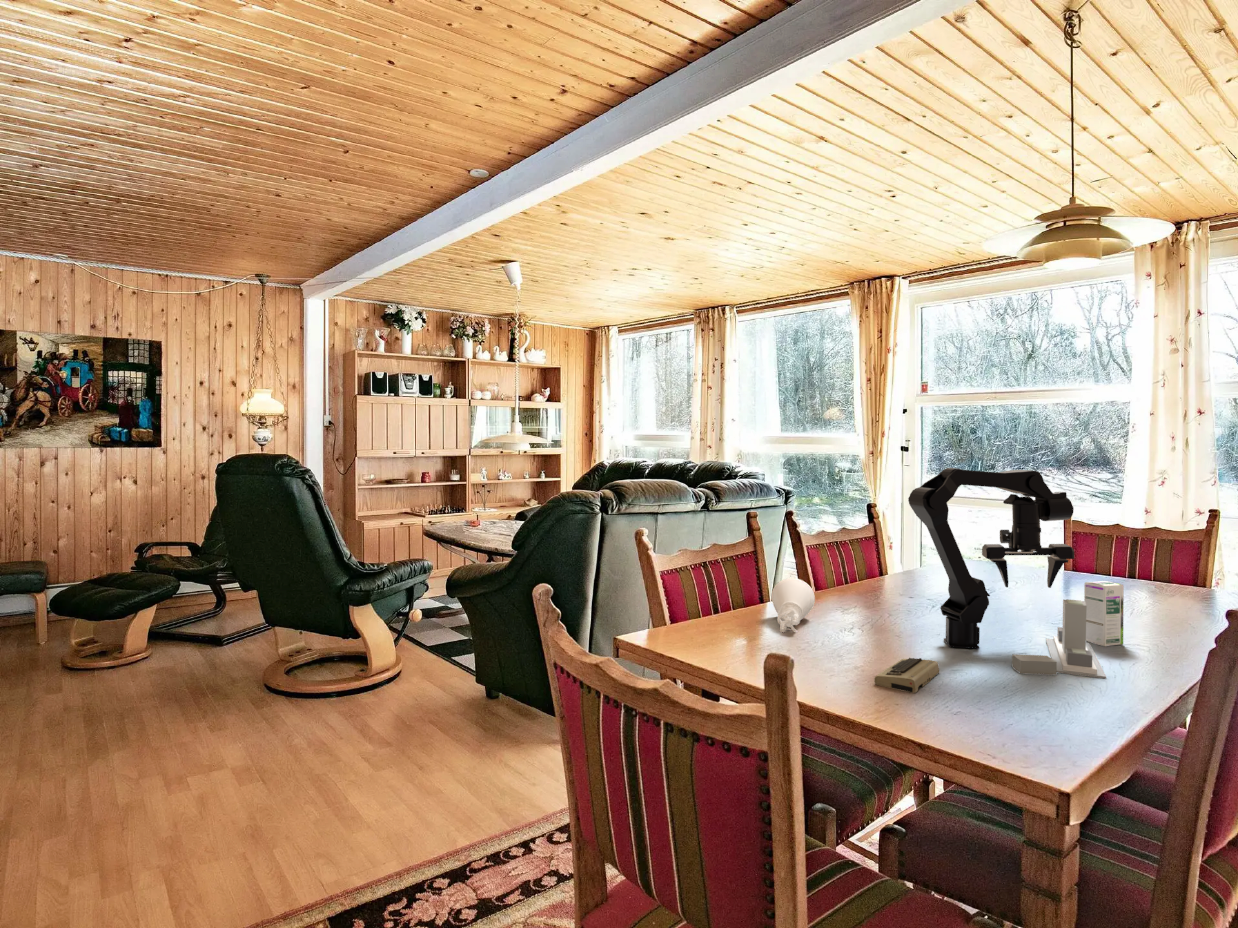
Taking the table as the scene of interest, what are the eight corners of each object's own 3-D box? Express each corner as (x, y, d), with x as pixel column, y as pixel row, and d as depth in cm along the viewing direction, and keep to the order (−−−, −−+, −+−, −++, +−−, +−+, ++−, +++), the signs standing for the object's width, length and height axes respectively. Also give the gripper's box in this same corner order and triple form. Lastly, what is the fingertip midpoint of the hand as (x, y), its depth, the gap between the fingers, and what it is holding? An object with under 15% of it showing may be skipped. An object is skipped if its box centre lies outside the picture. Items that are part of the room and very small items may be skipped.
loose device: (1020, 674, 154) (1020, 660, 154) (1011, 668, 158) (1012, 654, 158) (1056, 676, 153) (1056, 661, 153) (1046, 669, 157) (1047, 655, 157)
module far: (1058, 641, 173) (1059, 629, 173) (1057, 637, 177) (1057, 626, 176) (1080, 643, 171) (1081, 632, 171) (1079, 639, 175) (1079, 628, 175)
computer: (900, 667, 159) (900, 652, 159) (939, 675, 154) (940, 659, 154) (873, 686, 147) (873, 670, 147) (915, 695, 142) (915, 678, 141)
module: (1064, 653, 163) (1065, 602, 163) (1062, 647, 168) (1063, 598, 168) (1085, 655, 162) (1086, 604, 161) (1082, 649, 166) (1083, 600, 166)
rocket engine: (790, 597, 183) (795, 569, 200) (755, 622, 187) (762, 593, 204) (822, 632, 183) (824, 601, 200) (786, 656, 187) (790, 624, 204)
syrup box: (1104, 646, 174) (1106, 585, 173) (1082, 640, 179) (1084, 580, 179) (1123, 645, 175) (1125, 584, 175) (1101, 638, 181) (1102, 579, 180)
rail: (1055, 672, 154) (1055, 665, 154) (1045, 640, 179) (1046, 634, 179) (1106, 678, 150) (1106, 671, 150) (1089, 644, 175) (1089, 638, 175)
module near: (1067, 664, 155) (1067, 651, 155) (1065, 659, 159) (1065, 647, 159) (1092, 667, 153) (1092, 654, 153) (1089, 662, 157) (1090, 649, 157)
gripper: (1059, 517, 182) (1060, 580, 182) (976, 518, 186) (978, 580, 187) (1074, 523, 171) (1076, 590, 171) (986, 524, 176) (988, 589, 176)
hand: (1027, 587), depth 177 cm, fingers open, 9 cm apart
